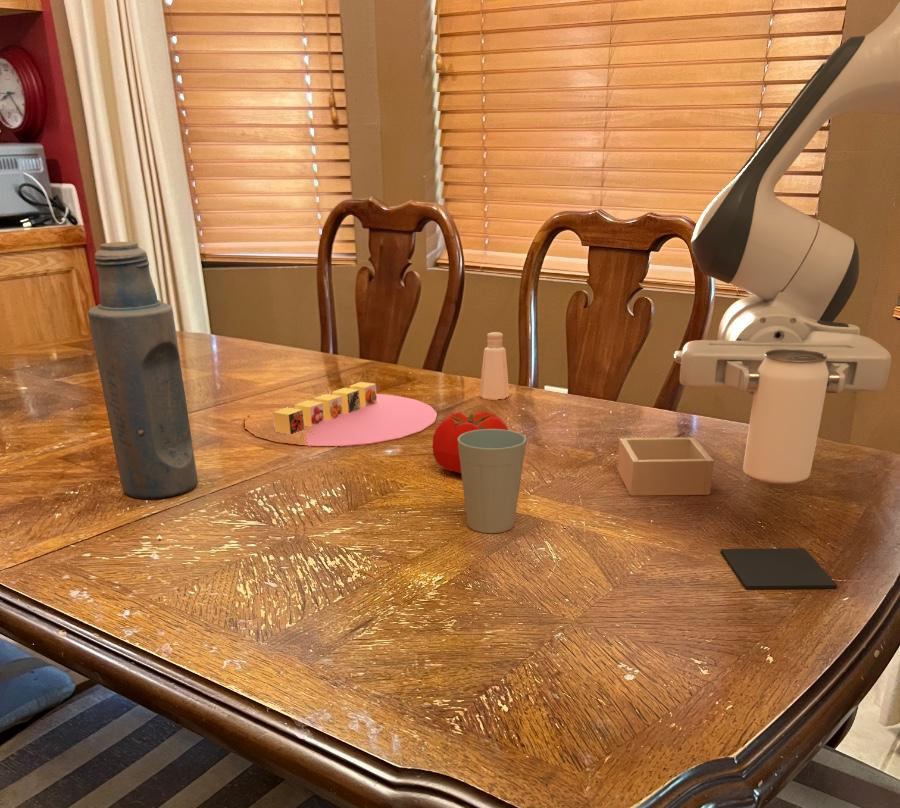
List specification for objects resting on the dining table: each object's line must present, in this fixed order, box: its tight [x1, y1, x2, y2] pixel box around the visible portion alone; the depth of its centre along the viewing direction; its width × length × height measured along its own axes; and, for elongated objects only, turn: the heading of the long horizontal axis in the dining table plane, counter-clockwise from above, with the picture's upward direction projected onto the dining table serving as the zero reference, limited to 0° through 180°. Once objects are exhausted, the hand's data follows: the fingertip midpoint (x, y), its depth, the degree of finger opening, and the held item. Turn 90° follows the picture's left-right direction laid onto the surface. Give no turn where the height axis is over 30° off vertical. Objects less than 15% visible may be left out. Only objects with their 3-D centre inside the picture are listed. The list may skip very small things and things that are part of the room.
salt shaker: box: [478, 331, 510, 401], centre depth 151 cm, size 5×5×11 cm
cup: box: [458, 429, 527, 534], centre depth 98 cm, size 8×8×10 cm
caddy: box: [616, 436, 715, 497], centre depth 112 cm, size 10×10×4 cm
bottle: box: [87, 241, 199, 500], centre depth 107 cm, size 10×10×30 cm
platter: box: [273, 381, 438, 448], centre depth 142 cm, size 32×32×3 cm
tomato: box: [432, 410, 509, 475], centre depth 117 cm, size 11×11×8 cm
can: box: [742, 349, 829, 486], centre depth 84 cm, size 6×6×12 cm
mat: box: [720, 547, 838, 590], centre depth 89 cm, size 9×9×1 cm
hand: (793, 383), depth 82 cm, fingers closed on can, 6 cm apart
